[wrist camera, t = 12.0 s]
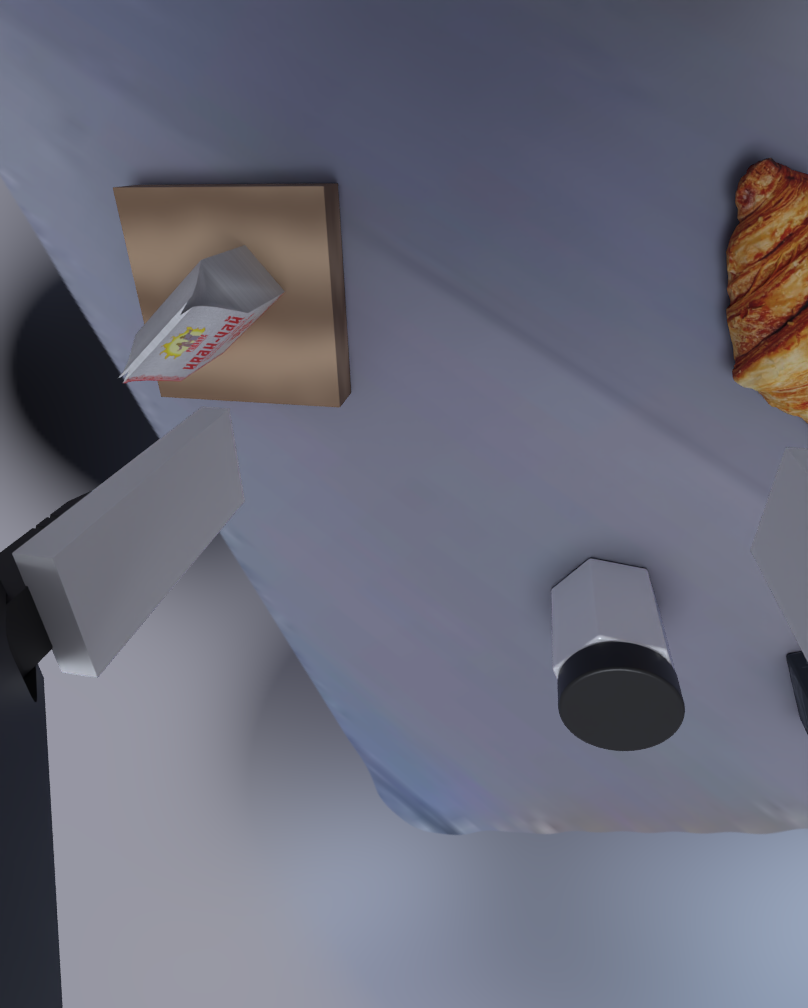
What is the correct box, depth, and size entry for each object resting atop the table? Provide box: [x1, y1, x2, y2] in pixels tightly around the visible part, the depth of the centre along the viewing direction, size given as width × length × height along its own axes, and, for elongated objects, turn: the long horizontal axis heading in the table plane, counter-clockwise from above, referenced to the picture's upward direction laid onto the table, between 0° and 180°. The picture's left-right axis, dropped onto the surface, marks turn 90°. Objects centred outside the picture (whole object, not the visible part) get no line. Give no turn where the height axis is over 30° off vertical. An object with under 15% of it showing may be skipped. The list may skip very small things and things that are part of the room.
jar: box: [551, 558, 685, 751], centre depth 46 cm, size 9×8×12 cm
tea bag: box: [119, 245, 285, 383], centre depth 36 cm, size 4×7×10 cm, turn 131°
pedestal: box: [113, 183, 351, 407], centre depth 42 cm, size 14×14×3 cm
